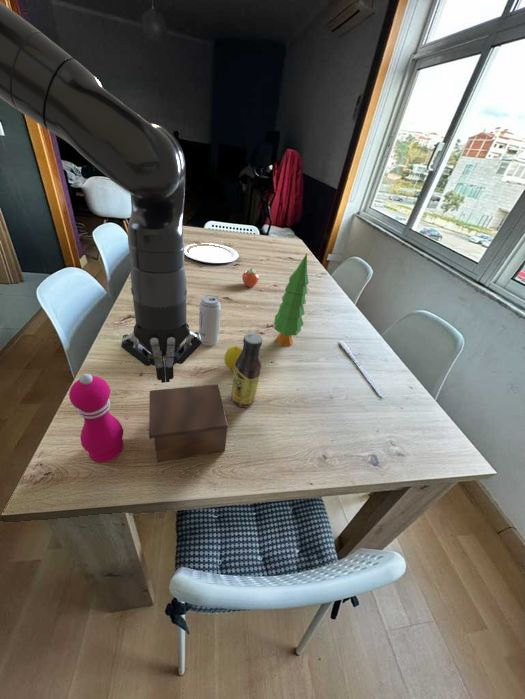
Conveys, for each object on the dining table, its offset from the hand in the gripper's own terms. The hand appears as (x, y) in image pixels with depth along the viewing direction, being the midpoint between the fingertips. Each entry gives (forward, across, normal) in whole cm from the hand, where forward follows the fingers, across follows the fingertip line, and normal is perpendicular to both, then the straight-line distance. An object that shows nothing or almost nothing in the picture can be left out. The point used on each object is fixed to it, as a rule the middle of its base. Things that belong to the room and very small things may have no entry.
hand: (165, 379), depth 53 cm
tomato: (+16, -37, -75) cm, 85 cm away
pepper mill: (+17, +12, +1) cm, 21 cm away
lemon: (+17, -18, -20) cm, 32 cm away
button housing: (+17, +2, -33) cm, 37 cm away
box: (+17, -4, 0) cm, 17 cm away
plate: (+16, -25, -111) cm, 115 cm away
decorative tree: (+17, -38, -32) cm, 53 cm away
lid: (+9, -4, 0) cm, 10 cm away
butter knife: (+16, -59, -17) cm, 63 cm away
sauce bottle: (+17, -18, -8) cm, 26 cm away
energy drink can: (+17, -13, -34) cm, 40 cm away
